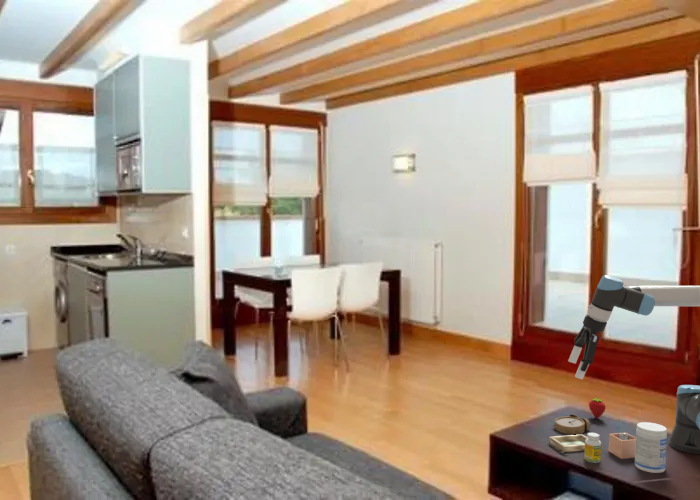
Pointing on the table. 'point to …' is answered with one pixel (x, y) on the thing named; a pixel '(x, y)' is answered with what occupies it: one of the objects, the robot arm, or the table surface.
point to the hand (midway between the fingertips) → (575, 370)
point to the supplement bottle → (592, 448)
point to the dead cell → (624, 436)
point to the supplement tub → (650, 447)
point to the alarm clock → (571, 424)
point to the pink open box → (622, 446)
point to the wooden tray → (568, 442)
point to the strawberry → (597, 407)
